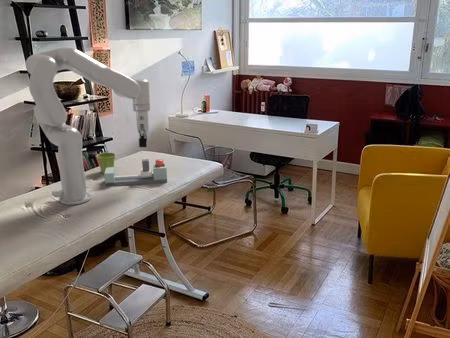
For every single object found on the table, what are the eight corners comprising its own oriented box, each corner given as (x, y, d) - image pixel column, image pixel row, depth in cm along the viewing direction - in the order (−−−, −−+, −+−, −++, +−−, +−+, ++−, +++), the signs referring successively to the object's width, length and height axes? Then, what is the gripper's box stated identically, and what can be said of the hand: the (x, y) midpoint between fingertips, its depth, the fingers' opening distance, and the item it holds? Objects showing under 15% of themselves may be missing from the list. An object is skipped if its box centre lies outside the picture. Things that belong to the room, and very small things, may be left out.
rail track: (105, 186, 203) (104, 171, 201) (107, 179, 212) (106, 165, 210) (167, 182, 207) (166, 167, 205) (166, 175, 216) (165, 162, 214)
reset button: (155, 167, 207) (155, 161, 206) (155, 165, 211) (155, 159, 210) (163, 167, 208) (163, 161, 207) (163, 165, 211) (163, 158, 210)
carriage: (140, 176, 206) (139, 162, 204) (141, 172, 212) (140, 158, 210) (151, 176, 207) (150, 161, 205) (151, 172, 213) (150, 158, 210)
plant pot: (119, 168, 227) (118, 152, 225) (113, 174, 219) (112, 157, 216) (102, 168, 228) (100, 152, 226) (95, 174, 219) (93, 157, 217)
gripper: (149, 110, 192) (151, 148, 197) (150, 104, 208) (151, 139, 213) (132, 110, 191) (134, 149, 196) (133, 104, 207) (135, 140, 212)
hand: (143, 144), depth 204 cm, fingers open, 9 cm apart
